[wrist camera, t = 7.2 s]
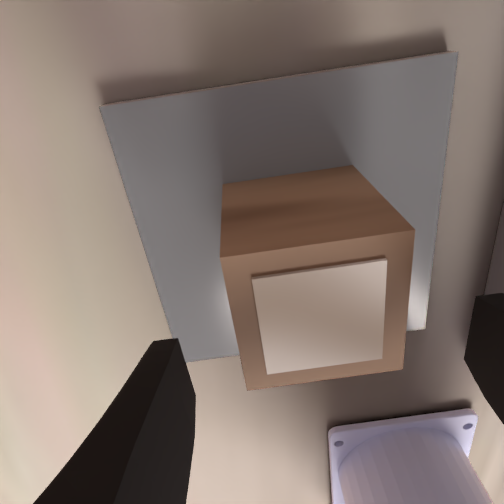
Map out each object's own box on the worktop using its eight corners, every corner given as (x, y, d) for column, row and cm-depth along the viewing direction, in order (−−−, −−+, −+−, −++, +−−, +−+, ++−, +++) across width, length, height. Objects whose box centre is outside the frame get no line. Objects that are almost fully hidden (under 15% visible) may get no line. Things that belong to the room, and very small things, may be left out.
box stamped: (352, 274, 15) (404, 372, 11) (241, 290, 15) (247, 393, 11) (352, 165, 13) (417, 231, 9) (222, 184, 13) (219, 259, 9)
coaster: (419, 320, 17) (425, 329, 17) (182, 353, 18) (180, 363, 17) (448, 51, 12) (458, 51, 11) (104, 104, 12) (99, 107, 12)
